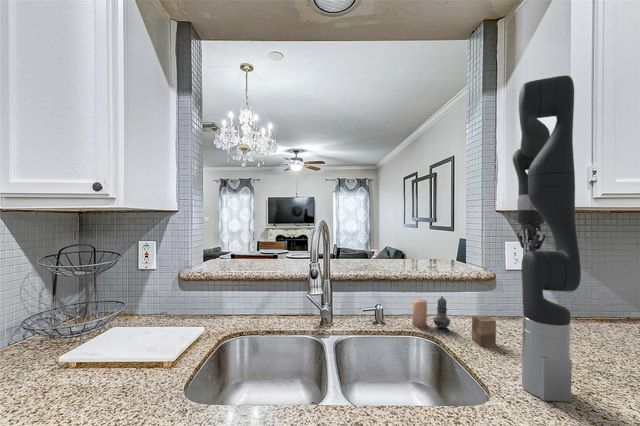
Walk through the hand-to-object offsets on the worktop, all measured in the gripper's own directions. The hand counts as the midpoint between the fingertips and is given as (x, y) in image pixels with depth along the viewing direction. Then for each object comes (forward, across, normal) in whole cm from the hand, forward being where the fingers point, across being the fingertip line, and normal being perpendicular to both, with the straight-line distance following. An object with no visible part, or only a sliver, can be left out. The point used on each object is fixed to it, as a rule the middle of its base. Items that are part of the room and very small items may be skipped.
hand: (530, 262), depth 106 cm
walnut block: (+26, +2, -15) cm, 30 cm away
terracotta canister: (+26, -12, -32) cm, 43 cm away
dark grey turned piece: (+26, -8, -25) cm, 37 cm away
